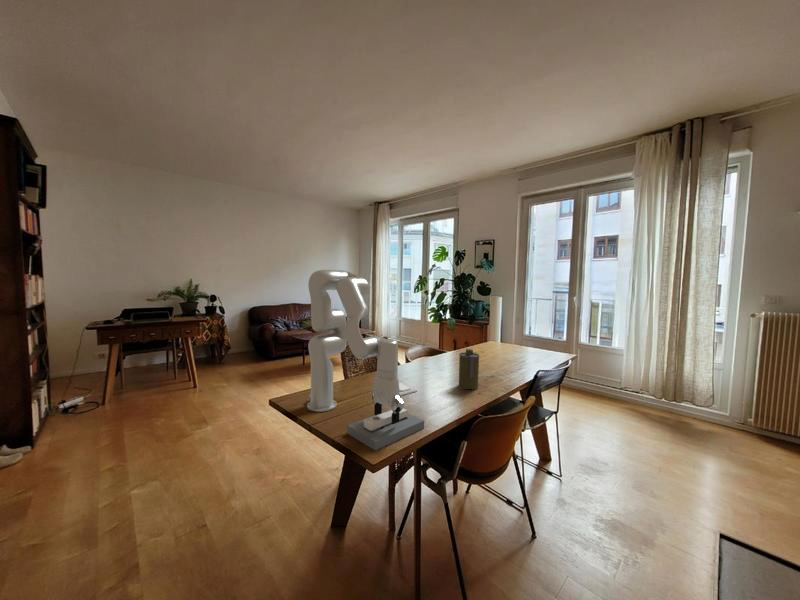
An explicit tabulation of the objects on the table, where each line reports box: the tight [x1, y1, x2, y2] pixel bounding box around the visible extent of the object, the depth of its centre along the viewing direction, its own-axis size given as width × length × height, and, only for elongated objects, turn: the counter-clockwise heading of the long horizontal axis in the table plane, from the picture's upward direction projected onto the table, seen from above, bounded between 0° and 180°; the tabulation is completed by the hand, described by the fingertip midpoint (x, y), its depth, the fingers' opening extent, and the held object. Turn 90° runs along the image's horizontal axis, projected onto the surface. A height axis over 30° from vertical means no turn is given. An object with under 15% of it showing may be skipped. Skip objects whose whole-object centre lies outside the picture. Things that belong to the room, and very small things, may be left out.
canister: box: [458, 348, 480, 391], centre depth 170 cm, size 11×10×20 cm
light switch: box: [399, 382, 418, 397], centre depth 164 cm, size 11×4×13 cm
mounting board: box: [346, 407, 425, 451], centre depth 120 cm, size 16×24×3 cm, turn 134°
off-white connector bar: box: [363, 407, 408, 433], centre depth 120 cm, size 4×18×6 cm, turn 134°
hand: (386, 418), depth 120 cm, fingers open, 9 cm apart
